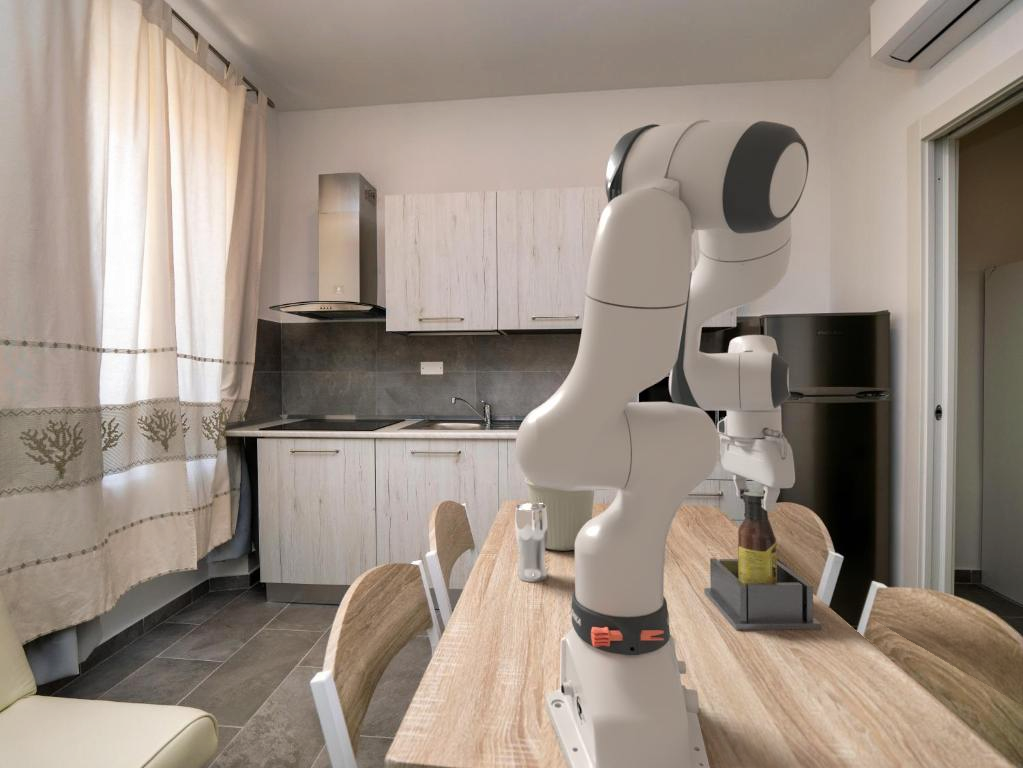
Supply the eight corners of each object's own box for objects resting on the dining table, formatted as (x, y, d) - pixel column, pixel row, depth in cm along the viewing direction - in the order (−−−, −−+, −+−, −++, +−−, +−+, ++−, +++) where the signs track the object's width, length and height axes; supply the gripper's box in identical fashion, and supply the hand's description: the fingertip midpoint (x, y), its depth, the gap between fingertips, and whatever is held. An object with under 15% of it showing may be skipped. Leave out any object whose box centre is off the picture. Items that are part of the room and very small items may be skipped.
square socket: (821, 629, 83) (820, 587, 83) (735, 630, 83) (735, 588, 83) (777, 592, 97) (777, 556, 97) (704, 593, 97) (704, 557, 97)
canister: (603, 557, 117) (602, 467, 117) (526, 557, 118) (524, 467, 117) (592, 532, 135) (591, 454, 135) (525, 533, 136) (524, 455, 135)
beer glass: (555, 575, 107) (554, 505, 106) (534, 586, 102) (533, 512, 101) (530, 567, 111) (529, 500, 111) (509, 577, 106) (507, 506, 106)
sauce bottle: (782, 614, 86) (781, 499, 86) (743, 611, 87) (742, 497, 87) (770, 597, 93) (770, 490, 92) (734, 595, 94) (733, 489, 94)
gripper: (805, 431, 80) (807, 518, 79) (745, 422, 100) (746, 492, 100) (765, 431, 80) (767, 519, 79) (713, 423, 100) (714, 492, 100)
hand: (755, 504), depth 90 cm, fingers open, 8 cm apart
